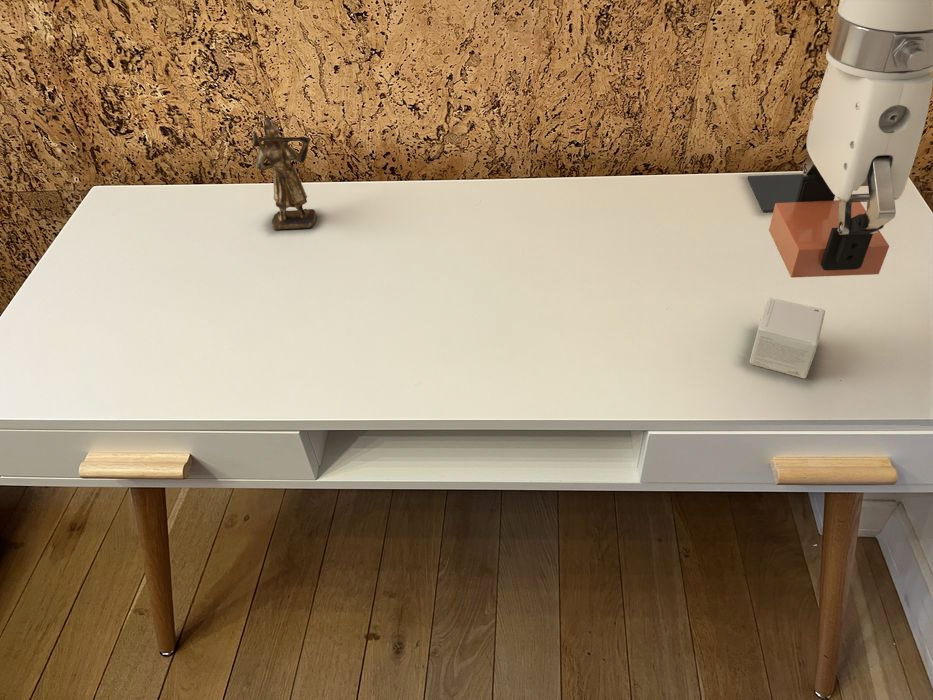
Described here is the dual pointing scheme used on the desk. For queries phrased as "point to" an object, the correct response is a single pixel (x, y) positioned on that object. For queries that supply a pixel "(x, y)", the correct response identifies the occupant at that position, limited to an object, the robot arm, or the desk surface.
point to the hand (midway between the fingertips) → (824, 239)
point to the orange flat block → (817, 238)
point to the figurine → (284, 176)
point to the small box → (787, 337)
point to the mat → (775, 189)
